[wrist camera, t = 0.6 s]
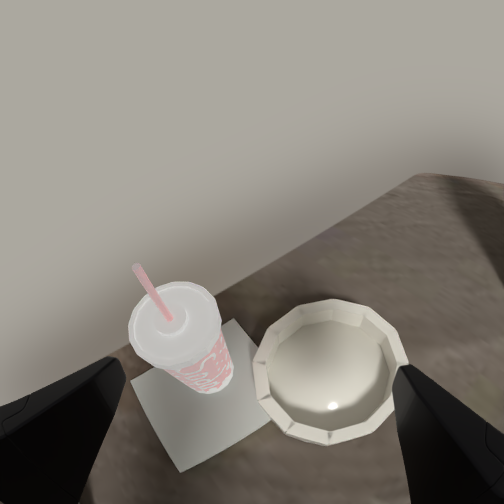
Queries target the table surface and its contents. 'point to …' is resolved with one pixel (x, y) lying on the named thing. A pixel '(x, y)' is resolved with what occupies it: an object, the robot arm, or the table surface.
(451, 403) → the robot arm
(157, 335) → the beverage cup
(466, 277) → the table surface
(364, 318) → the bowl
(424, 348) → the table surface
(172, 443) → the mat
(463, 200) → the table surface
